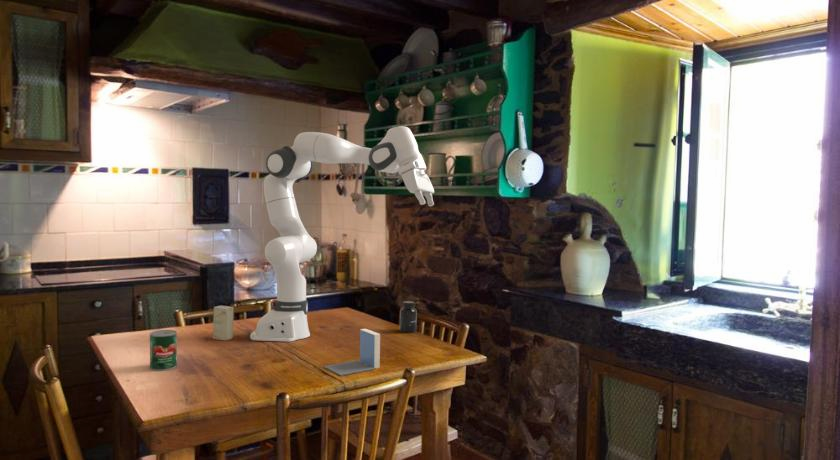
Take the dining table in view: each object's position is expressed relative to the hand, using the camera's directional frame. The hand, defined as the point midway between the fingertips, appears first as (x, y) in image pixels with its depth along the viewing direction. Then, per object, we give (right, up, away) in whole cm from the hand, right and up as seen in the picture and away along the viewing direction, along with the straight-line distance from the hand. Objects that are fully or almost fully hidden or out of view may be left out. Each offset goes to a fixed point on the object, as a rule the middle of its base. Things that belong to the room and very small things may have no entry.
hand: (427, 205), depth 208 cm
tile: (-19, -53, -12) cm, 57 cm away
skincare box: (-77, -50, +19) cm, 94 cm away
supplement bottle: (-8, -50, +36) cm, 62 cm away
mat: (-25, -53, -16) cm, 61 cm away
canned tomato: (-84, -52, -18) cm, 100 cm away
